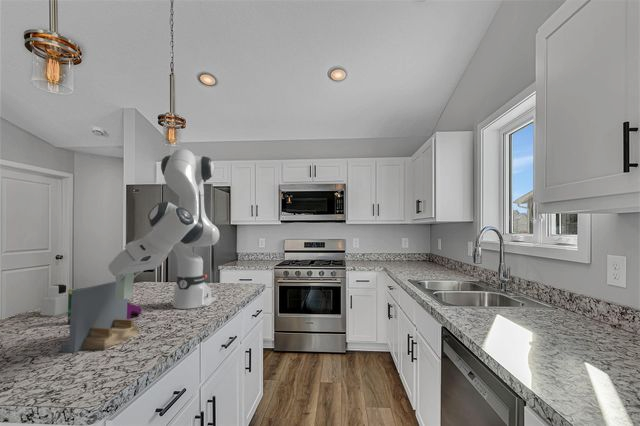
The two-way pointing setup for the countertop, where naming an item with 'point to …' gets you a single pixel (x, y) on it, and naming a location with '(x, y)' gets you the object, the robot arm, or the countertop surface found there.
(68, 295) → the coffee box
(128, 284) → the cabinet block
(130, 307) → the mounting bracket
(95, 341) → the cleat ledge
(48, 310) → the medicine bottle
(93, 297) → the wall board
